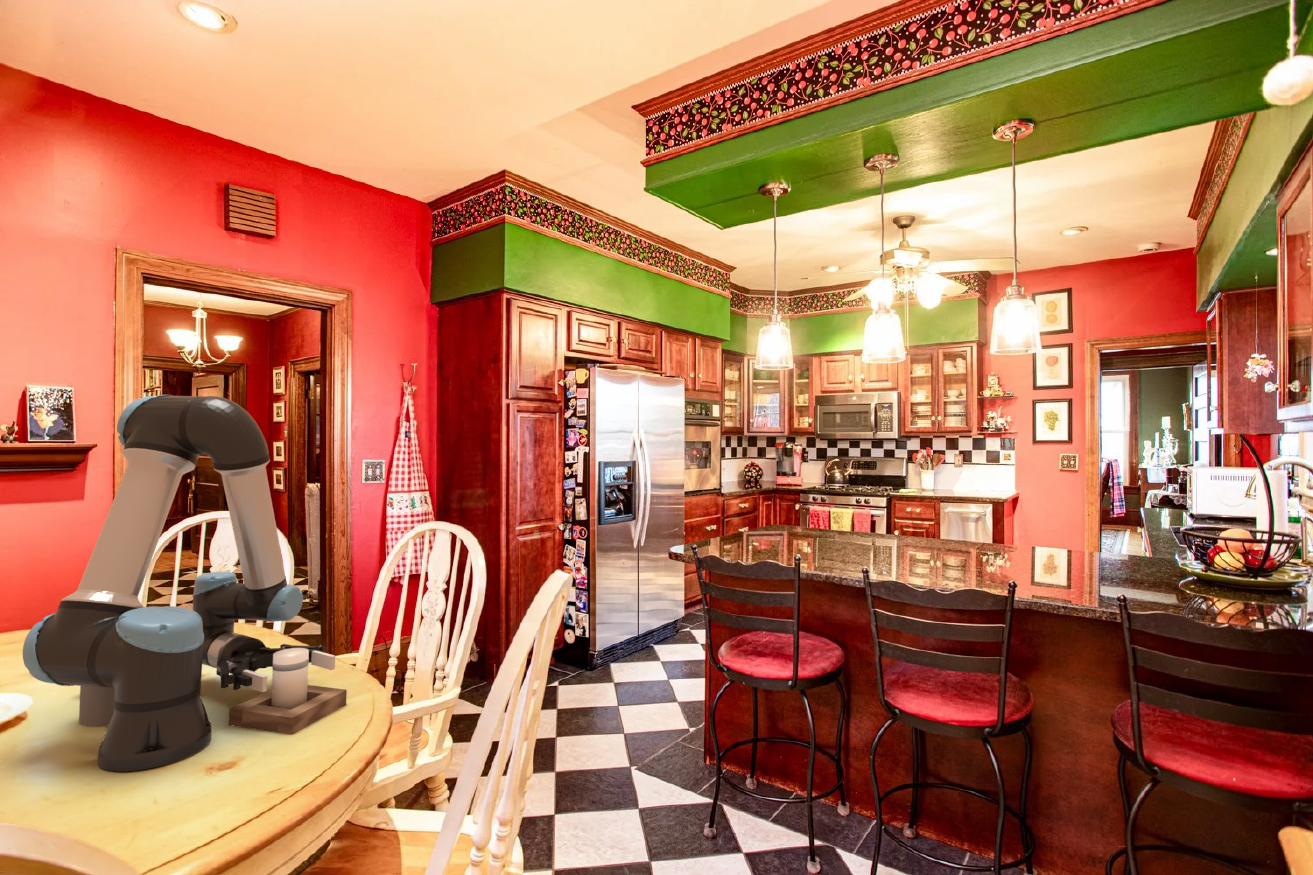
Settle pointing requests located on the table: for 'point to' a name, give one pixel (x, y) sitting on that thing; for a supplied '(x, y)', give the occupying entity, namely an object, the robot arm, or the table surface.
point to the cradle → (287, 711)
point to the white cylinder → (290, 677)
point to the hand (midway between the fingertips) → (300, 673)
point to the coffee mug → (96, 705)
